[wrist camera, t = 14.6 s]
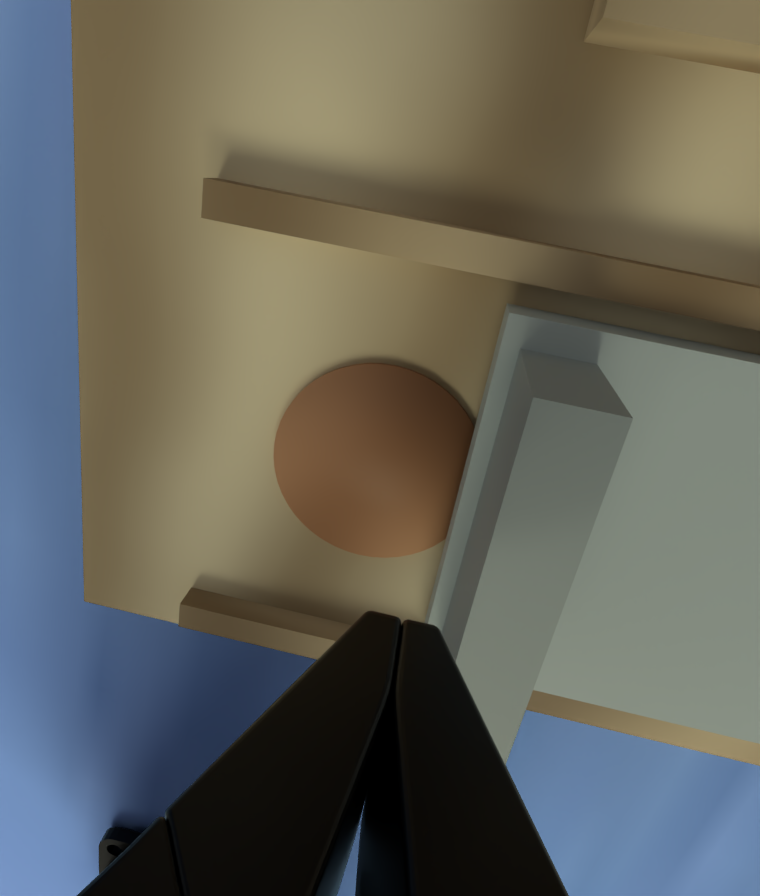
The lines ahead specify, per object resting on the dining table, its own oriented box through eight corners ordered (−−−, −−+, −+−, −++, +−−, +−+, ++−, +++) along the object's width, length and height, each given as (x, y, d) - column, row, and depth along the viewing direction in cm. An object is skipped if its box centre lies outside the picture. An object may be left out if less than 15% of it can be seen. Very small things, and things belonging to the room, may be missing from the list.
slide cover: (420, 636, 13) (405, 766, 10) (506, 303, 10) (519, 352, 7) (759, 715, 13) (844, 874, 10) (946, 393, 10) (1143, 482, 7)
